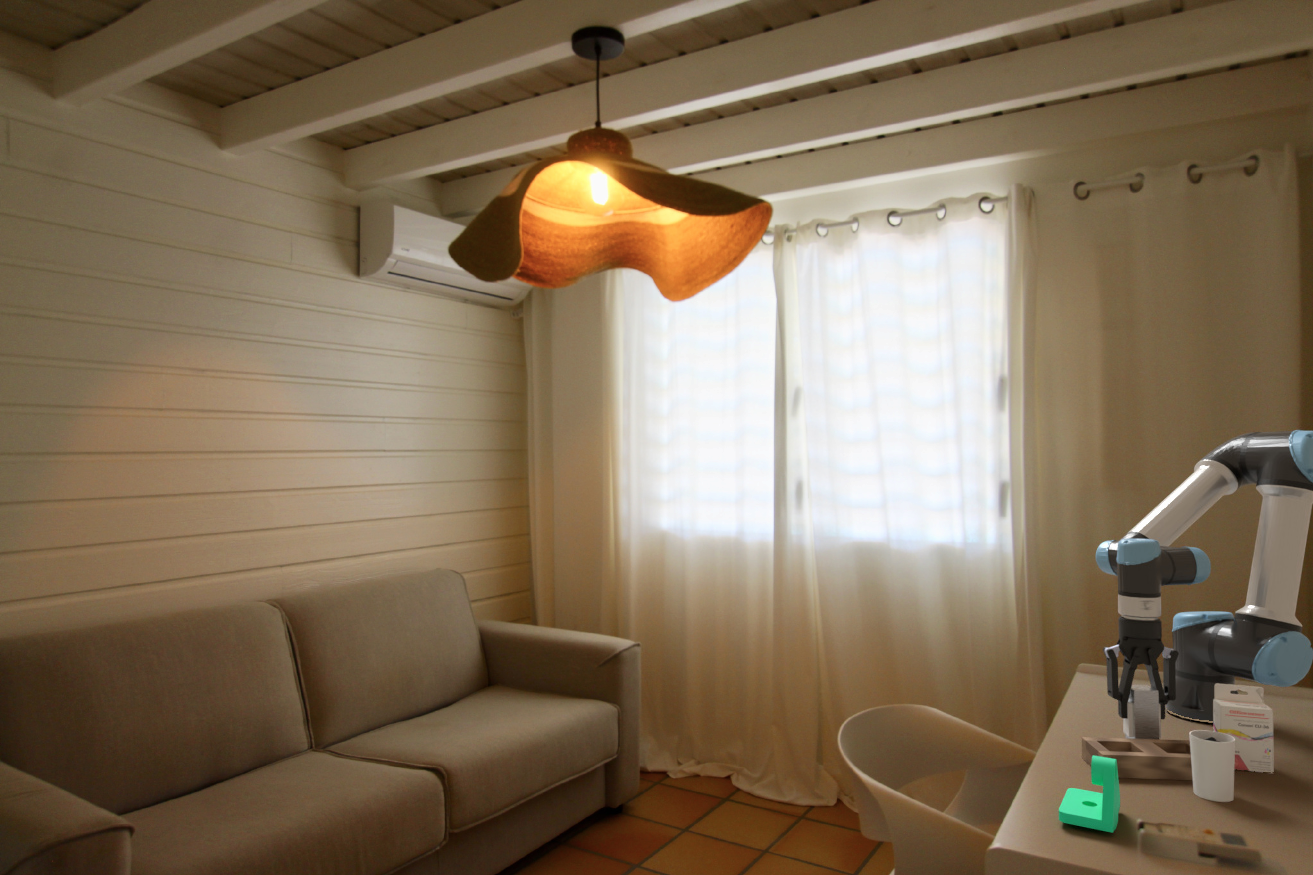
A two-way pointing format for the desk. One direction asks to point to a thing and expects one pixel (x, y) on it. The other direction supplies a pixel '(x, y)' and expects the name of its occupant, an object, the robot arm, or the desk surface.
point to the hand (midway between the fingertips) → (1142, 734)
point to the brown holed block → (1143, 756)
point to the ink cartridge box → (1245, 725)
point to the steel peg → (1144, 712)
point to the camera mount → (1094, 799)
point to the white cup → (1212, 765)
